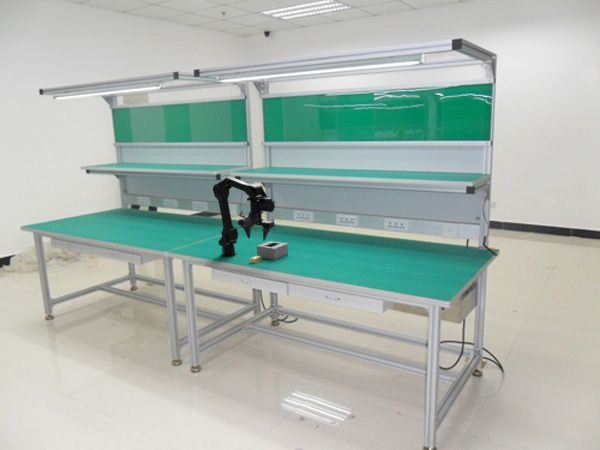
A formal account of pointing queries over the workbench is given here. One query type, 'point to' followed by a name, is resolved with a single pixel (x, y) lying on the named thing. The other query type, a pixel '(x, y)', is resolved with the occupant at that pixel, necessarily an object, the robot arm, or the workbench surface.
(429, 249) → the workbench surface
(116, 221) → the workbench surface
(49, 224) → the workbench surface
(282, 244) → the slot box
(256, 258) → the tall cream wooden block
